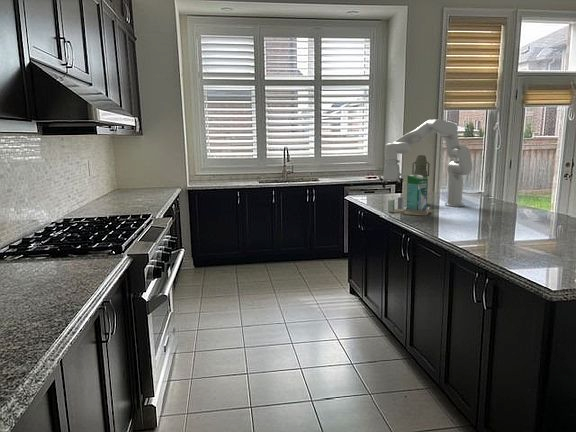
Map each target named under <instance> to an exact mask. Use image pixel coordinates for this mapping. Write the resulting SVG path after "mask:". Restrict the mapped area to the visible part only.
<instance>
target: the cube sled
mask: <svg viewBox="0 0 576 432" xmlns="http://www.w3.org/2000/svg"><path fill="white" fill-rule="evenodd" d="M403 201H404V200H403V196H398V197H397V210H403V209H405V208H406V207H407V206H403Z"/></svg>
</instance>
